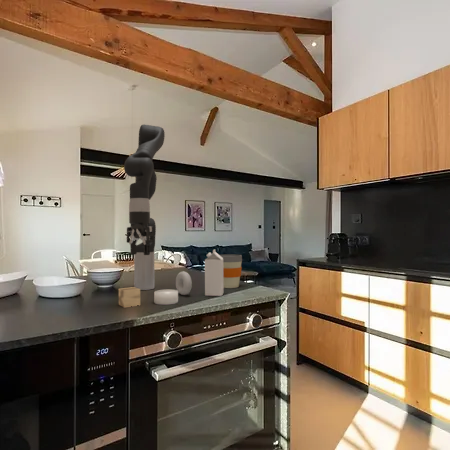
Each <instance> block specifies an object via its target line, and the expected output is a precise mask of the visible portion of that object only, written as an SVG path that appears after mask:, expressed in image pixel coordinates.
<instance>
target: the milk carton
mask: <svg viewBox="0 0 450 450" xmlns="http://www.w3.org/2000/svg"><path fill="white" fill-rule="evenodd" d="M220 255H221V254H219V253H217V252H216V249H213V250H212V252H208V253H207V254H206V257H207V258H205V259H204V296H206V297H207V296H213V297H215V296H216V297H218V296H219V297H221V296H223V294H224V291H225V290H224V289H225V288H224V283H223V258H222V257H221V256H220Z"/></svg>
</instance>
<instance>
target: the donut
mask: <svg viewBox="0 0 450 450" xmlns="http://www.w3.org/2000/svg"><path fill="white" fill-rule="evenodd" d="M175 277H176V278H175V287H176V290H177V291H178V294H179V295H181V296H187V295H189V294H190V292H191V289H192V285H193V283H192V282H193V281H192V277H191V275H190V274H189V273H188V272H187V271H184V270H183V271H180V272H179V273H178V274H177V275H176V276H175Z"/></svg>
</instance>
